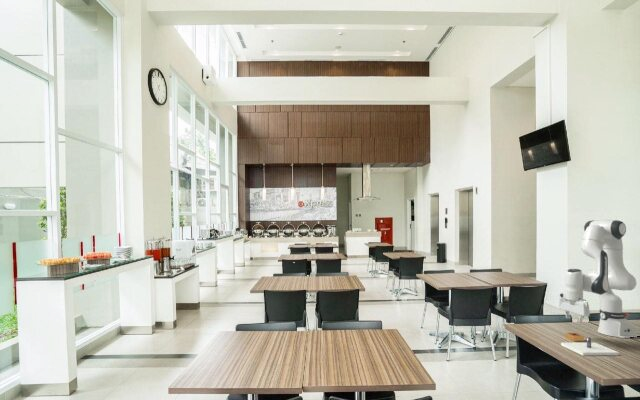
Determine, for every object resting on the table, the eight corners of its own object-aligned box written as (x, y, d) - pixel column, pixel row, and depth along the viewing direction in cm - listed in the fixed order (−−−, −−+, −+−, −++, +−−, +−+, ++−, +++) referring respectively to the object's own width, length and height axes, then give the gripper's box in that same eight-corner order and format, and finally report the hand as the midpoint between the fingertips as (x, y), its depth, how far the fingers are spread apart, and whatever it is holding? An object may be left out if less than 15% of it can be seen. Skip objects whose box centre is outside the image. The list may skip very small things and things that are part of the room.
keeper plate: (594, 345, 216) (594, 333, 217) (618, 355, 200) (618, 342, 201) (561, 345, 215) (561, 333, 215) (582, 355, 199) (582, 342, 199)
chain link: (575, 337, 229) (575, 332, 230) (584, 341, 223) (583, 336, 223) (565, 337, 229) (565, 332, 229) (573, 341, 222) (573, 336, 223)
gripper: (592, 300, 217) (592, 325, 216) (566, 293, 237) (566, 316, 236) (582, 300, 216) (582, 325, 216) (557, 293, 237) (556, 316, 236)
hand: (573, 320), depth 226 cm, fingers open, 8 cm apart
